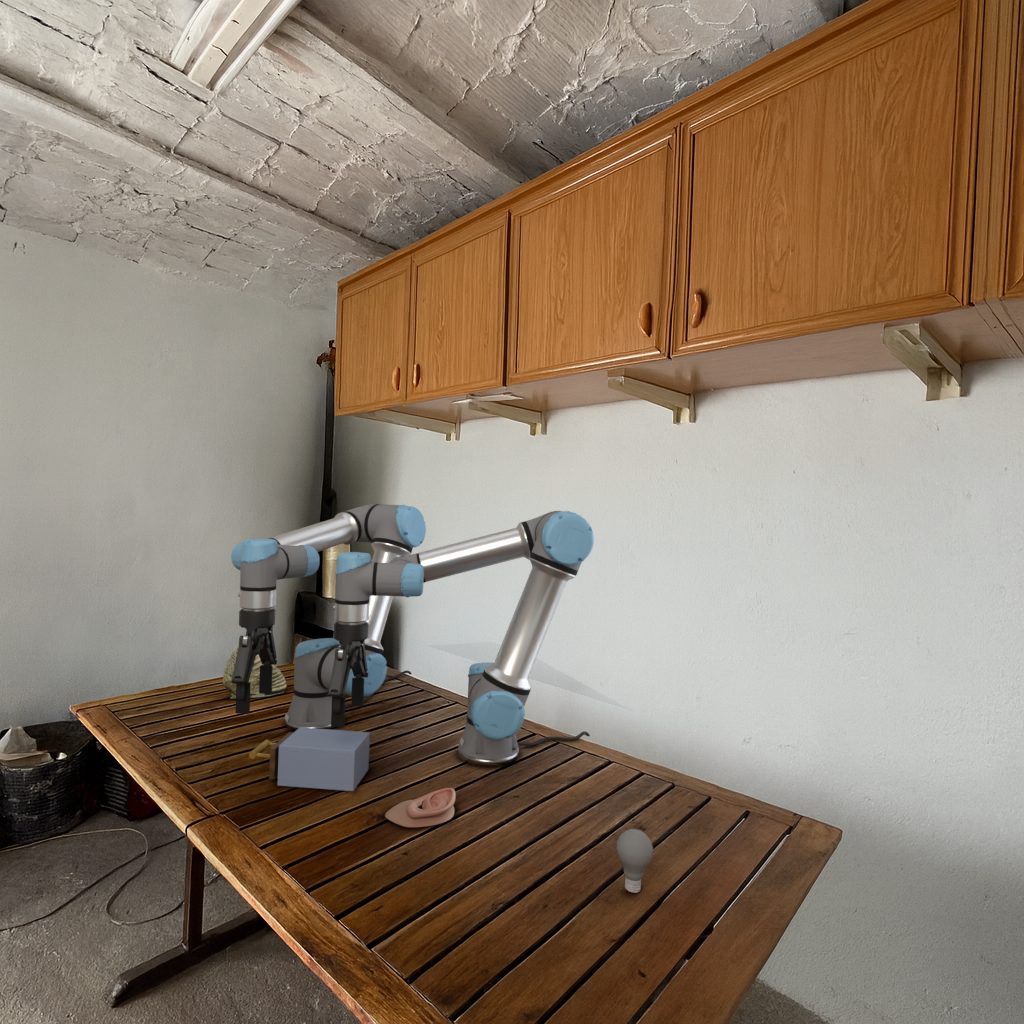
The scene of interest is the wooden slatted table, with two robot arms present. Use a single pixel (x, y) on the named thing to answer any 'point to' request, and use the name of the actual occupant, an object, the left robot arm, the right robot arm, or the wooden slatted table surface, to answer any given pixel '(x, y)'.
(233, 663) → the fossil
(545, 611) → the right robot arm
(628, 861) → the light bulb
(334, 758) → the cabinet
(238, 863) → the wooden slatted table surface
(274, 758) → the drawer
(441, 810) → the anatomical model
